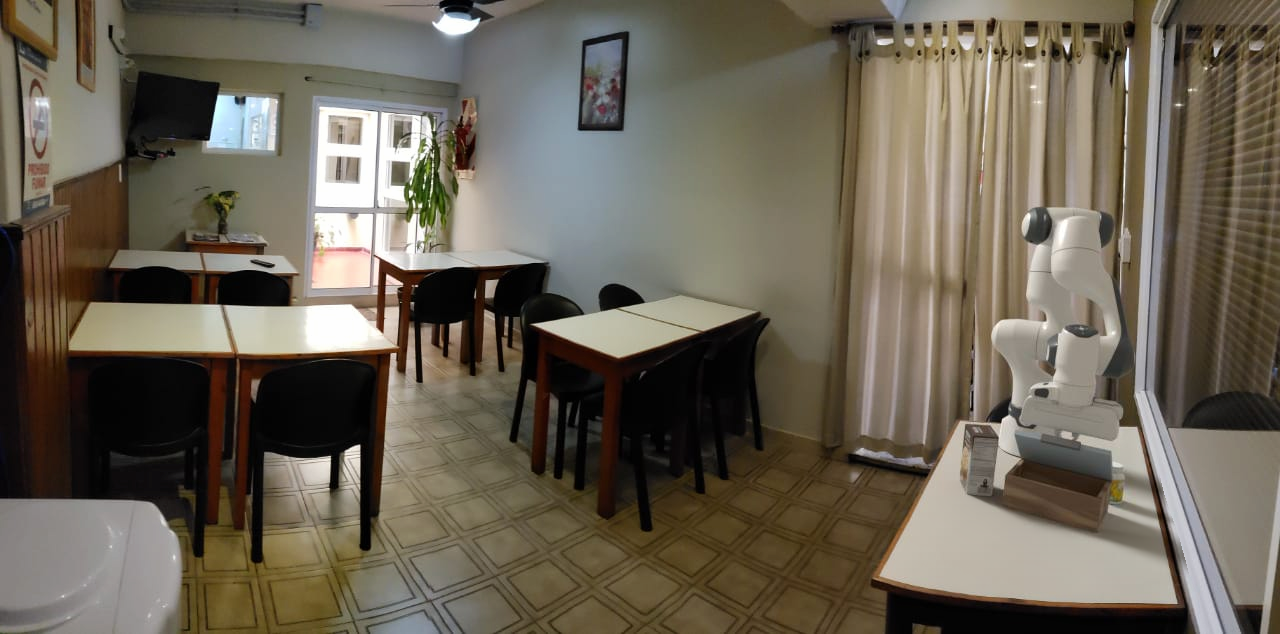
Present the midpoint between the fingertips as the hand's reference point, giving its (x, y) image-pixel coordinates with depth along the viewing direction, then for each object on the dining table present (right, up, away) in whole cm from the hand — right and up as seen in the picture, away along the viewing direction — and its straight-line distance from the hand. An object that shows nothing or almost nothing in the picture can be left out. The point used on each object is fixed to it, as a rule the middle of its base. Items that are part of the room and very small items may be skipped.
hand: (1064, 448), depth 172 cm
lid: (-1, -2, 0) cm, 3 cm away
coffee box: (-16, -13, +13) cm, 24 cm away
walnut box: (-2, -15, +2) cm, 15 cm away
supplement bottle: (+15, -15, +7) cm, 22 cm away
